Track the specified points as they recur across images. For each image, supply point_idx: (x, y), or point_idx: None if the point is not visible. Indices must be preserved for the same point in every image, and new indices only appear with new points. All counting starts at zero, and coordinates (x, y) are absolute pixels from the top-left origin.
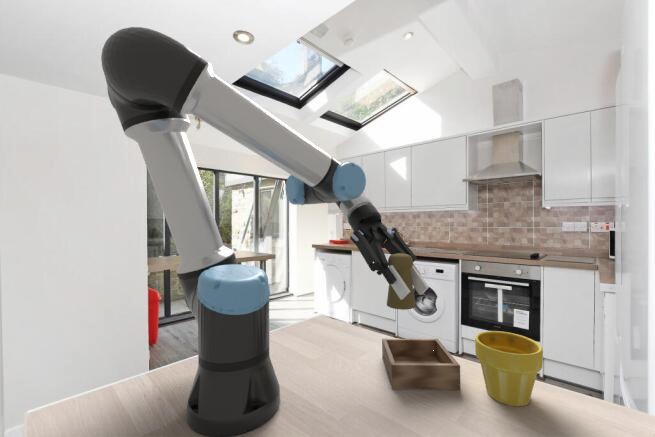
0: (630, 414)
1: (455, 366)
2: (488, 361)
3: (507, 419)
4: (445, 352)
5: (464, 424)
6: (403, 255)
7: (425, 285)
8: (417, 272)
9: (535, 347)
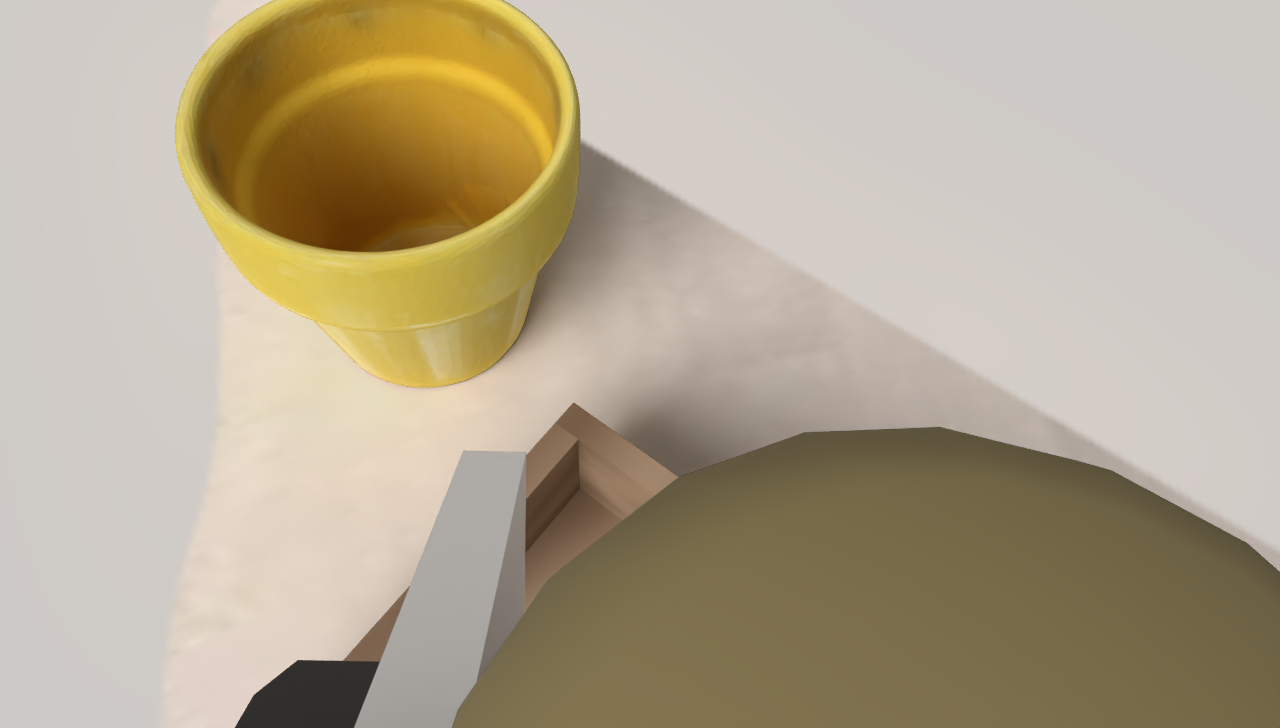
0: (216, 16)
1: (599, 421)
2: (575, 192)
3: (628, 239)
4: None
5: (814, 319)
6: (1113, 579)
7: (522, 467)
8: (440, 618)
9: (282, 35)
